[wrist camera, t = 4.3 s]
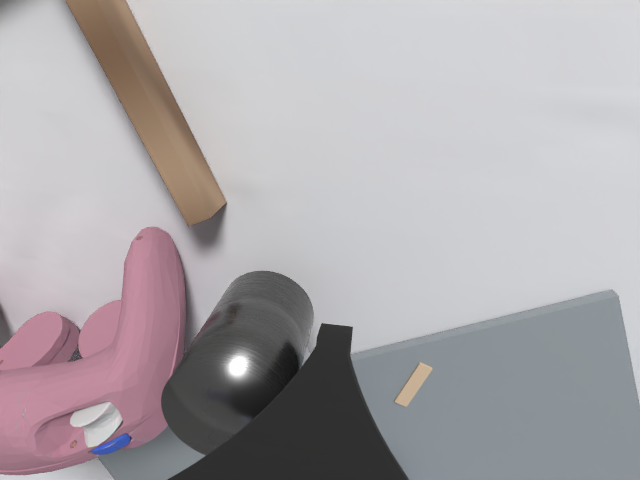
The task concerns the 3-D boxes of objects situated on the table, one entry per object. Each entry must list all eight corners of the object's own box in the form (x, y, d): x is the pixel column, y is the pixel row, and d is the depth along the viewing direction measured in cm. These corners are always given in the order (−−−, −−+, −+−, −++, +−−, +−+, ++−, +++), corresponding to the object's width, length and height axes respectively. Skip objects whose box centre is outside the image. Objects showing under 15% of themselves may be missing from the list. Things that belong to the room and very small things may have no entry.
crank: (416, 512, 18) (428, 677, 14) (317, 521, 19) (295, 677, 15) (320, 243, 14) (287, 346, 9) (200, 274, 15) (114, 380, 10)
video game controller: (27, 317, 20) (-62, 491, 16) (-65, 257, 17) (-211, 456, 12) (226, 285, 18) (192, 476, 13) (167, 209, 15) (95, 429, 10)
